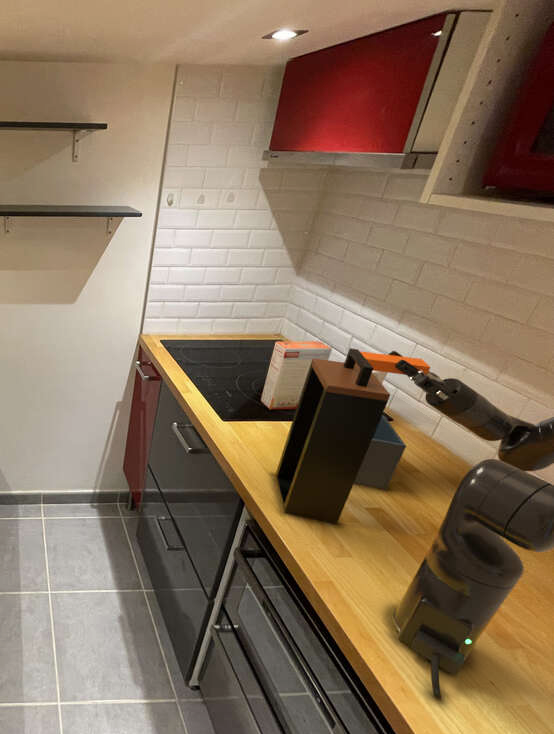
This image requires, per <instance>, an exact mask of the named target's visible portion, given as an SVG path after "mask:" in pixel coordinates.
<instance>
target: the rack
mask: <svg viewBox="0 0 554 734" xmlns="http://www.w3.org/2000/svg"><path fill="white" fill-rule="evenodd" d="M355 363H357V364H355ZM372 371H373V367H372V366H371V364H370V363H369V362H368V361H367V360H366V358H365V357H364V356H363V355H362V354H361V353H360V350H359V349H358V348H349V349H348V351H347V354H346V357H345V360H344V361H335V360H329V359H328V360H322V359H314V358H313V359H312V362H311V365H310V368H309V371H308V374H307V377H306V381H305V384H304V387H303V390H302V393H301V396H300V399H299V402H298V406H297V409H295V412H294V415H293V418H292V421H291V424H290V428H289V432H288V434H287V436H286V437H287V438H286V441H285V444H284V447H283V449H282V452H281V456H280V459H279V462H278V465H277V469H276V471H275V475H274V477H275V481H276V485H277V489H278V493H279V496H280V501H281V505H282V509H283V512H284V513H285V514H288V515H292V516H293V515H294V516H298V517H300V518H301V517H302V518H307V519H310V520H315V521H318V522H323V523H327V524H332V525H338V522H339V521H340V517H341V515H342V513H343V511H344V508H345V505H346V503H347V501H348V498H349V495H350V494H351V491H352V489H353V486H354V484H355V483H354V481H355V479H356V477H357V474H358V472H359V469H360V467H361V465H362V462H363V460H364V457H365V455H366V453H367V450H368V448H369V445H370V443H371V441H372V438H373V436H374V433H375V431H376V429H377V426H378V424H379V421H380V419H381V416H383V414H384V411H385V409H386V406H387V404H388V402H389V400H390V397H391V393H390V392H389V391H388V390H387V388H386V387H385V386H384V385H383V383H382V384H381V383H380V381H379V380H378V379H377V378H376V376H375V375H374V374H373V373H372Z"/></svg>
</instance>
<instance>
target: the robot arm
mask: <svg viewBox="0 0 554 734" xmlns="http://www.w3.org/2000/svg"><path fill="white" fill-rule="evenodd" d="M387 355H393V356H401V357H404V356H403V355H402V354H401V353H399V352H398V351H396V350H392V351H391V352H389V353H388V354H387ZM395 367H396V368H397V369H398V370H400V371H401V372H403V373H404V374H406V375H405V376H407V377H408V378H409V379H410V381H413V384H415V386H417V388H419V389H420V390H422V392H424V393H425V402H426V403H427V404H428V405H429V406H430V407H432V408H434V409H435V410H436V411H438V412H439V413H441V414H442V415H444V416H445V417H446V418H447V419H449V420H451V421H453V422H454V423H456V424H458V425H459V426H462V427H463V428H465V429H466V430H468V431H469V432H471V433H472V434H474V435H475V436H477V437H478V438H480V439H481V440H484V441H488V442H498V441H500V442H499V443H500V444H499V447H498V449H497V458H498V459H495V458H488V459H483V460H481V461H480V462H478V463H476V464H474V465H473V466H472V467H471V468H470V469H469V470H468V471H467V472H466V473H465V475H464V476H463V478H462V479H461V480H460V482H459V484H458V486H457V488H456V490H455V491H454V494H453V495H452V498H451V501H450V503H449V506H448V509H447V511H446V513H445V515H444V517H443V520H442V521H441V523H440V525H439V527H438V530H437V533H436V536H435V538H434V540H433V542H432V544H431V546H430V547H429V549H428V551H427V553H426V555H425V556H424V558H423V560H422V562H421V564H420V565H419V567H418V569H417V571H416V572H415V574H414V576H413V578H412V580H411V581H410V583H409V585H408V587H407V589H406V591H405V592H404V594H403V596H402V598H401V600H400V602H399V604H398V606H397V607H396V608H395V610H394V611H393V613H392V617H391V619H392V620H391V621H392V624H393V626H394V628H395V630H396V632H397V633H398V636H397V639H398V640H399V641H401V642H402V643H404V644H406V645H407V646H408V647H410V649H411V650H413V651H415V652H416V653H417V654H419V655H421V656H422V657H424V658H426V659H427V660H429V661H431V663H430V679H431V687H432V695H433V697H434V698H437V699H441V698H442V693H441V685H440V668H441V669H443V670H444V671H446V672H448V673H450V674H451V675H453V676H455V677H456V676H457V675H458V673H459V672H460V670H461V669H462V667H463V666H464V662H465V661H466V659H467V658H468V656H469V653H470V652H471V651H472V649H473V648H474V646H475V645H476V643H477V642H478V640H479V638H480V637H481V635H482V634H483V633H484V632H485V630H486V628H487V627H488V626H489V624H490V622H491V621H492V620H493V618H494V617H495V615H496V614H497V613H498V611H499V610H500V608H501V607H502V605H503V604H504V602H505V601H506V600H507V598H508V597H509V596H510V594H511V592H512V591H513V590H514V588H515V587H516V585H517V584H518V583H519V581H520V579H521V578H522V576H523V575H524V570H525V566H524V562H523V561H522V559H521V557H520V555H519V554H518V553H517V551H515V550H514V549H513V547H511V546H510V544H509V543H507V542H510V543H511V544H514V545H515V546H518V547H520V548H521V549H524V550H526V551H529V552H532V553H545V552H548V551H551V550H554V484H552V483H551V482H548V481H546V480H544V479H541V478H540V477H537V476H536V475H533V474H532V473H529V472H537V471H542V470H544V469H546V468H549V467H550V466H552V465H553V464H554V416H552V417H549V418H546V419H544V420H541V421H539V422H537V423H536V424H535V423H532V422H529V421H525V420H523V419H521V418H518V417H515V416H512V415H510V414H507V413H506V412H505V411H503V410H501V409H500V408H498V407H497V406H496V405H494V404H493V403H492V402H490V400H489V399H487V398H486V397H484V396H483V395H482V394H480V393H479V392H477V391H476V390H474V389H473V388H471V387H470V386H469V385H467V384H465V383H464V382H463V381H462V380H460V379H458V378H452V377H449V378H444V379H442V378H441V377H440V376H439V375H438V374H436V373H435V372H433V371H430V370H429V372H428V374H425V373H424V372H423V371H420V370H418V369H417V368H415V367H414V366H412V365H411V364H410V363H408V362H407V361H405V360H400V361H399V362H398V363H396V364H395ZM417 370H418V371H417ZM506 540H507V542H506Z"/></svg>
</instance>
